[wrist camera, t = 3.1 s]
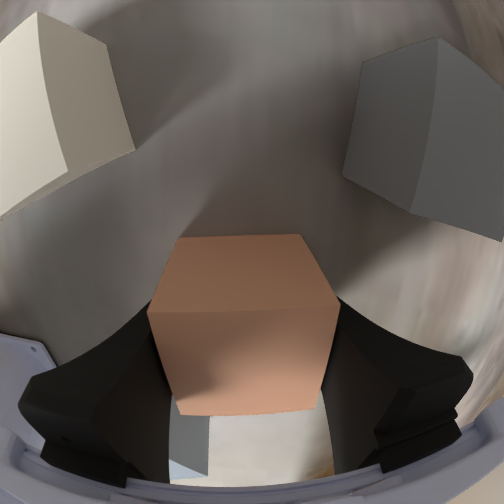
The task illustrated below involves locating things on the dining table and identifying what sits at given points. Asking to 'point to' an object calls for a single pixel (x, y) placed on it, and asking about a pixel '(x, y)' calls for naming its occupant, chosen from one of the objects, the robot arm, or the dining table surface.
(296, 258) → the terracotta cube
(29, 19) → the cream cube
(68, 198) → the dining table surface
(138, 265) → the dining table surface
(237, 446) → the dining table surface
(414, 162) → the charcoal cube
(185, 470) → the slate blue cube
